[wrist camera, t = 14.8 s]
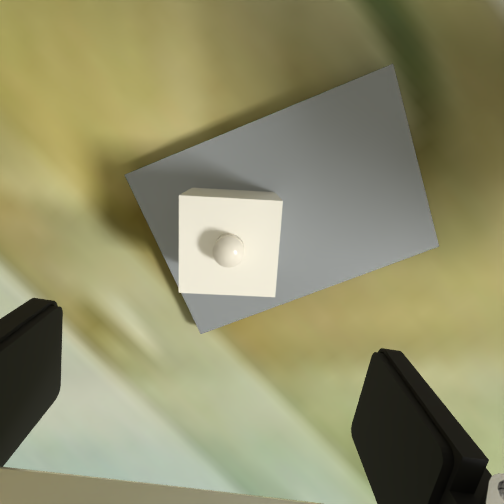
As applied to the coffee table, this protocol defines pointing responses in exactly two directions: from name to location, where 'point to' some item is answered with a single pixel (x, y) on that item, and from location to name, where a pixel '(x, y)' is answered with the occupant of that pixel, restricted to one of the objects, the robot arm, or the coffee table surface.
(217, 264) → the white knobbed cube
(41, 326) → the robot arm
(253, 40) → the coffee table surface
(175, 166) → the board
